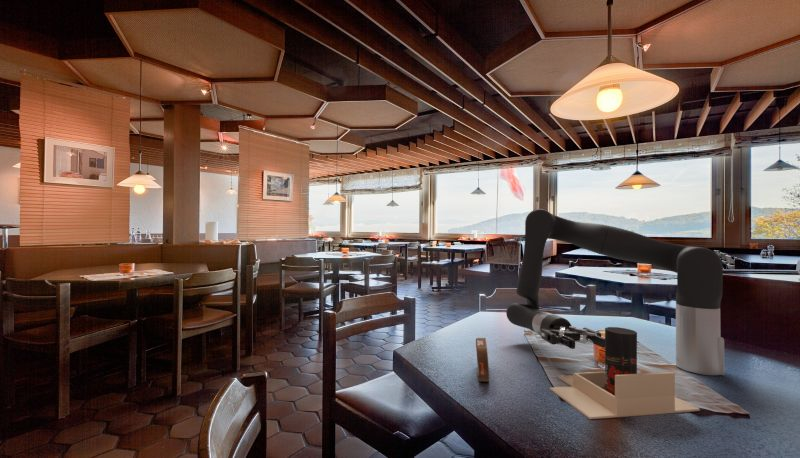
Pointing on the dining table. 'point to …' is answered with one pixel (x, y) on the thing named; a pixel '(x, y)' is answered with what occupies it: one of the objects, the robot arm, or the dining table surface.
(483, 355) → the thin brown box
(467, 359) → the dining table surface
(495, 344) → the dining table surface
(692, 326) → the robot arm
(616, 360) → the deodorant
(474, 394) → the dining table surface
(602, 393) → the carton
